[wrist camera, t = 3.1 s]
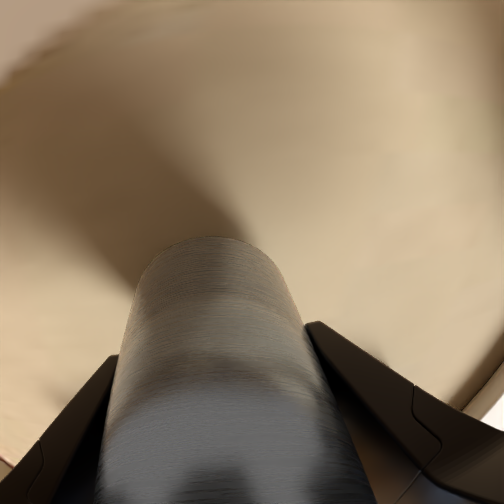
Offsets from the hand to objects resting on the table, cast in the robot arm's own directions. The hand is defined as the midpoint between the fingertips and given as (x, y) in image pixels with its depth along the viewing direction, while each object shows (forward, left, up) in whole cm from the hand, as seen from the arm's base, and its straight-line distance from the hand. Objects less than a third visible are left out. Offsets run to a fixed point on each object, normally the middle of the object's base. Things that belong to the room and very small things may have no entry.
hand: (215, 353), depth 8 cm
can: (0, 0, -2) cm, 2 cm away
